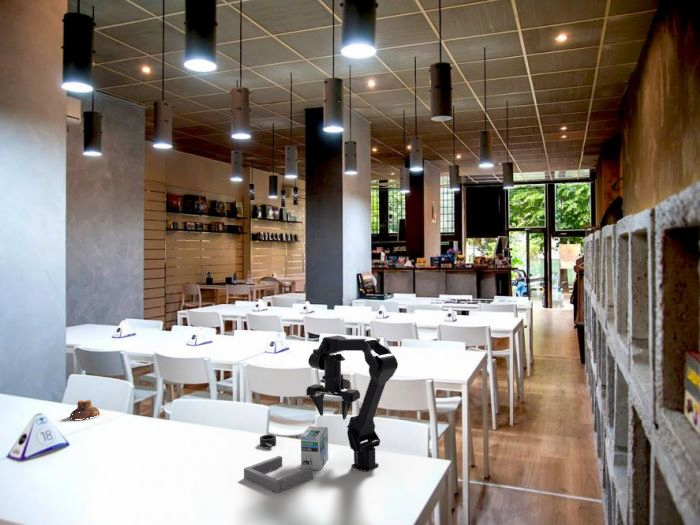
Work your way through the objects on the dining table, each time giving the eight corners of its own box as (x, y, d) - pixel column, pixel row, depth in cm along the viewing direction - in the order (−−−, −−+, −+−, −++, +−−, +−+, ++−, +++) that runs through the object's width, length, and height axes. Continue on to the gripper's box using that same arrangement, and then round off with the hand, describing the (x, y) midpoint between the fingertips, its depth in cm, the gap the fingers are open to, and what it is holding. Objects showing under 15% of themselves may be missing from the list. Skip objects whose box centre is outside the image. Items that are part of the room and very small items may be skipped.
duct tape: (283, 441, 198) (283, 433, 198) (272, 451, 188) (271, 442, 188) (264, 439, 200) (264, 432, 200) (252, 449, 190) (252, 441, 190)
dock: (312, 478, 164) (312, 468, 164) (277, 493, 154) (277, 482, 154) (279, 464, 175) (279, 455, 175) (244, 478, 165) (243, 468, 165)
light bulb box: (320, 470, 170) (320, 437, 170) (300, 469, 171) (300, 435, 171) (328, 458, 180) (328, 426, 180) (309, 457, 182) (309, 425, 181)
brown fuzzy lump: (63, 420, 227) (63, 403, 227) (82, 412, 239) (81, 396, 239) (88, 421, 225) (88, 404, 225) (105, 413, 237) (105, 397, 237)
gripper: (367, 370, 187) (367, 415, 187) (322, 365, 196) (322, 407, 196) (351, 377, 177) (352, 424, 177) (305, 371, 186) (305, 415, 187)
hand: (332, 417), depth 185 cm, fingers open, 9 cm apart
